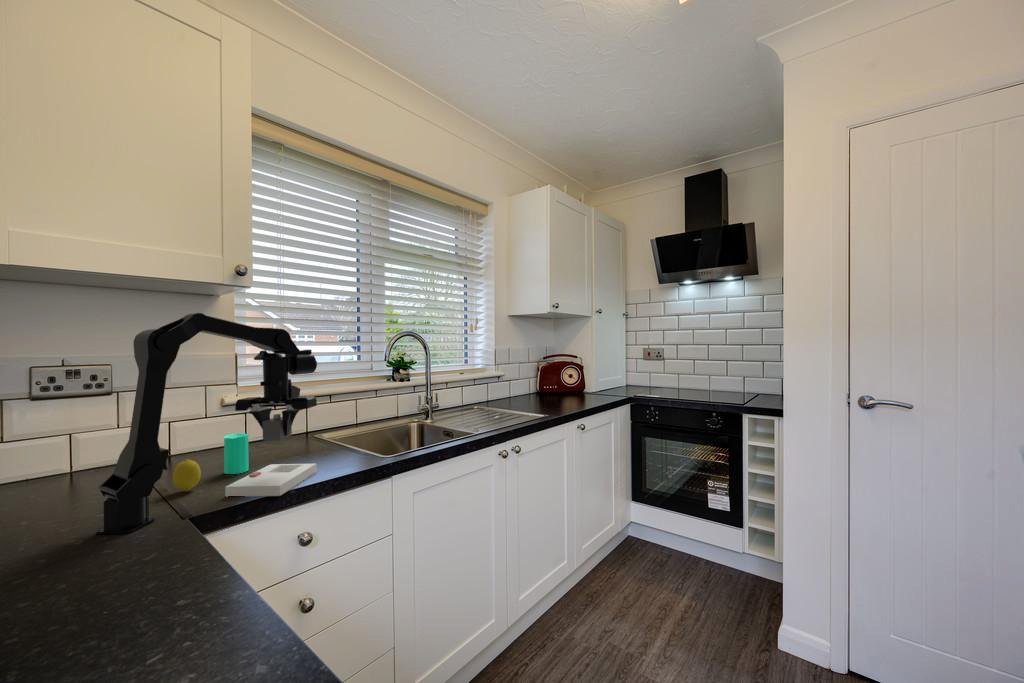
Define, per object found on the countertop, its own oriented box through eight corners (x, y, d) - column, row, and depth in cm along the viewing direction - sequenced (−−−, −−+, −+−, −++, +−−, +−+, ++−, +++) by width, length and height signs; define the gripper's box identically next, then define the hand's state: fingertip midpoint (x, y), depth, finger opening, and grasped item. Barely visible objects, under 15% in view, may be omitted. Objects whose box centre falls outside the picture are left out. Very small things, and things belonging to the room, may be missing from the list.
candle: (228, 470, 122) (227, 429, 123) (251, 468, 124) (251, 427, 124) (220, 476, 117) (220, 432, 117) (245, 474, 118) (245, 431, 119)
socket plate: (280, 495, 100) (280, 483, 100) (225, 496, 100) (225, 484, 100) (316, 472, 119) (316, 461, 119) (270, 472, 119) (270, 462, 119)
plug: (280, 440, 108) (279, 416, 108) (262, 440, 108) (262, 416, 108) (291, 435, 113) (291, 412, 113) (275, 435, 113) (274, 413, 113)
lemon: (176, 496, 101) (176, 463, 101) (169, 492, 104) (169, 459, 104) (204, 490, 105) (204, 458, 105) (196, 486, 108) (196, 455, 108)
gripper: (324, 373, 119) (326, 428, 119) (259, 374, 119) (260, 430, 119) (305, 376, 107) (307, 437, 107) (232, 378, 107) (234, 439, 108)
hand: (277, 435), depth 111 cm, fingers closed on plug, 4 cm apart
